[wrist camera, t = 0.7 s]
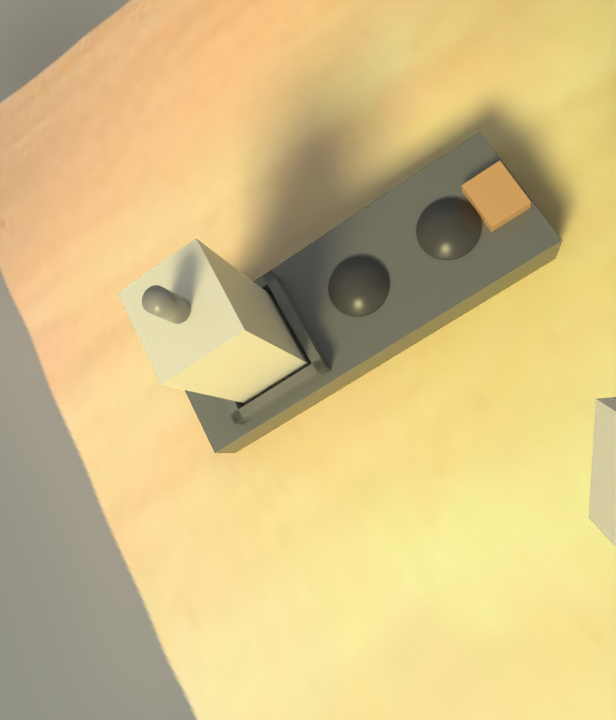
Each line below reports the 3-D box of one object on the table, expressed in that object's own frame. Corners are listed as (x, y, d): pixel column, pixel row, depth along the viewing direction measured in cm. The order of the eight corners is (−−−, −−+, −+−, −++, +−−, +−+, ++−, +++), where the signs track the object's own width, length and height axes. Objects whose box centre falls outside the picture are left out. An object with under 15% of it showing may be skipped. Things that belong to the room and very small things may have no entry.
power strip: (480, 157, 36) (479, 120, 32) (555, 258, 34) (564, 232, 30) (184, 350, 40) (151, 339, 36) (234, 453, 38) (205, 452, 34)
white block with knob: (272, 296, 36) (173, 221, 24) (310, 364, 34) (225, 319, 23) (212, 335, 36) (90, 280, 25) (248, 403, 35) (134, 379, 24)
